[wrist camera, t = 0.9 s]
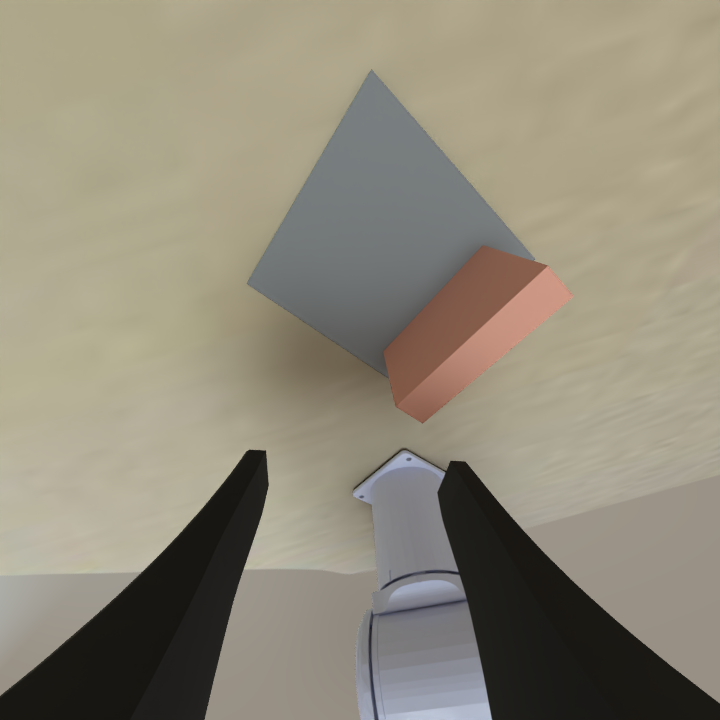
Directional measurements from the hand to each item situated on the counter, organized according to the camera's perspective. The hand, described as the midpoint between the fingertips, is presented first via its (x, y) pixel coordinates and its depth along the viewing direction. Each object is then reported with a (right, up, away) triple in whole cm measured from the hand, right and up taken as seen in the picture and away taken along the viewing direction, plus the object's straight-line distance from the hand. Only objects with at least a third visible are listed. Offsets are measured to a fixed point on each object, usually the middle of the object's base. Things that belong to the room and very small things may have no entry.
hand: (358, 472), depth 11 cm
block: (+5, +8, +7) cm, 12 cm away
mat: (+2, +10, +6) cm, 12 cm away
